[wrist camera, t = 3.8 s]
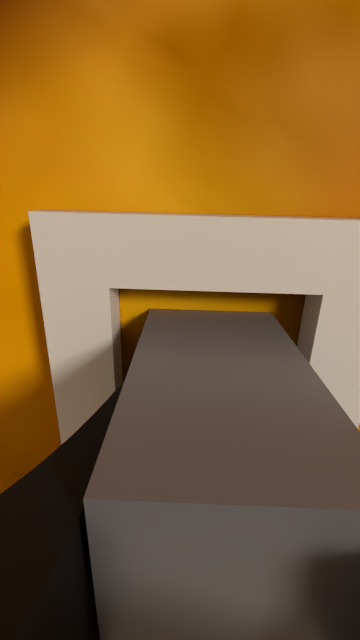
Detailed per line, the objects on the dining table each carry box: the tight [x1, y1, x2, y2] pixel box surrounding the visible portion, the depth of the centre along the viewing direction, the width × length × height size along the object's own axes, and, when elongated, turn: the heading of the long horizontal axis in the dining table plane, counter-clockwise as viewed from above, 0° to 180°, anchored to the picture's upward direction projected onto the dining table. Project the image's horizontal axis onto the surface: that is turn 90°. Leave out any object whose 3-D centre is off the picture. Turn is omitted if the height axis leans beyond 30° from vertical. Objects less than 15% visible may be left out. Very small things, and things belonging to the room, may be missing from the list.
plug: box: [83, 309, 360, 640], centre depth 8 cm, size 4×5×7 cm
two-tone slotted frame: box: [28, 210, 360, 445], centre depth 13 cm, size 10×25×2 cm, turn 179°
